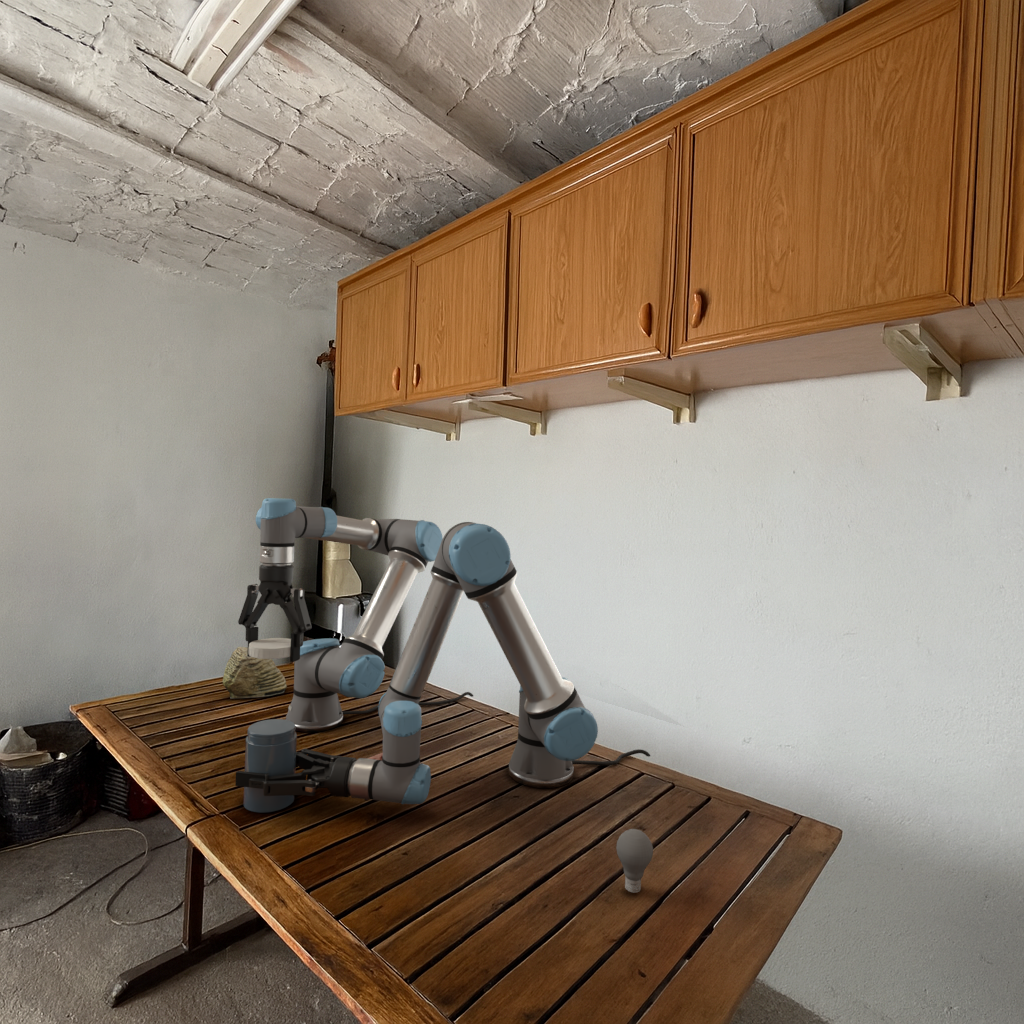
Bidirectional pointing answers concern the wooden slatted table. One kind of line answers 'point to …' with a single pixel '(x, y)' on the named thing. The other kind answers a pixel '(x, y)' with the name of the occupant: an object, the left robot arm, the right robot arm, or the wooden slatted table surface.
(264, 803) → the jar
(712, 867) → the wooden slatted table surface
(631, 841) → the light bulb
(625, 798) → the wooden slatted table surface
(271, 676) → the fossil
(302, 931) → the wooden slatted table surface
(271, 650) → the lid
